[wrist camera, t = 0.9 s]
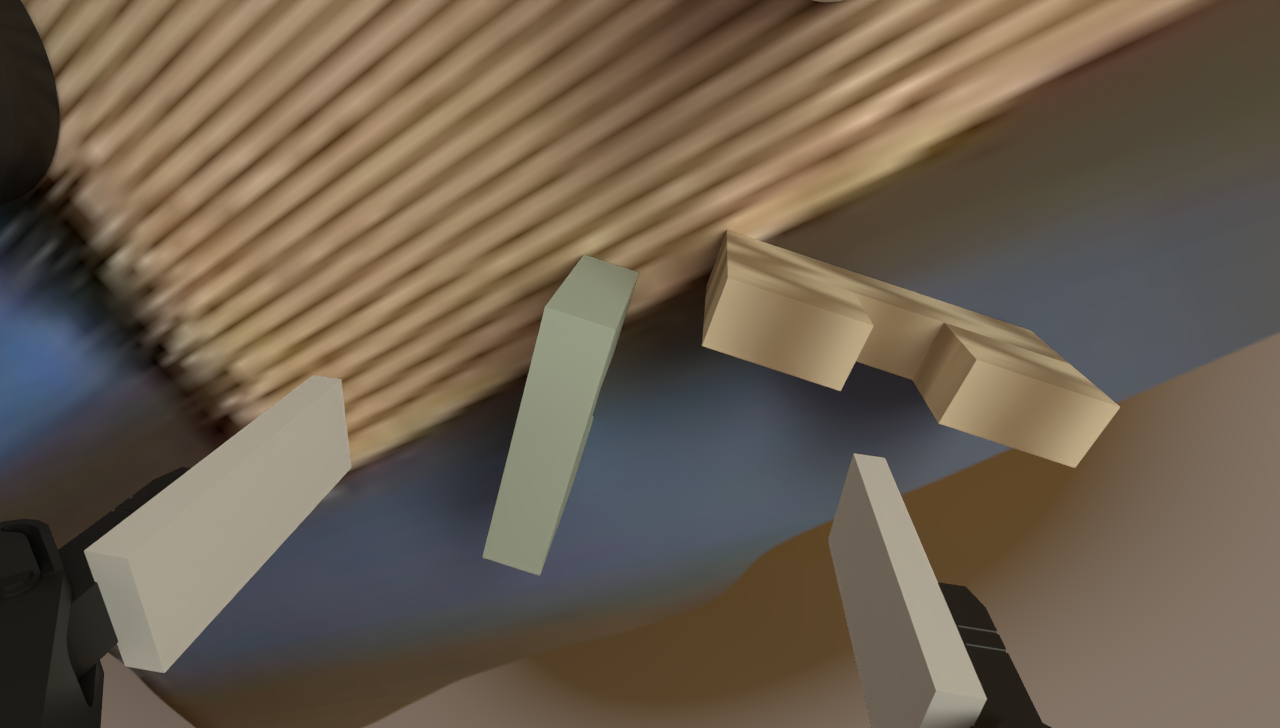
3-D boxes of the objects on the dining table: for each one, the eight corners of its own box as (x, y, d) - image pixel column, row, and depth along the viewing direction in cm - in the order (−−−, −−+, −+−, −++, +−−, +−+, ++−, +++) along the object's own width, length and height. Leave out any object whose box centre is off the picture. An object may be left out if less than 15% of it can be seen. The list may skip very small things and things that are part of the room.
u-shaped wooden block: (706, 284, 33) (701, 345, 26) (726, 229, 32) (728, 277, 24) (998, 381, 33) (1075, 467, 26) (1030, 330, 32) (1120, 407, 25)
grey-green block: (526, 467, 39) (482, 557, 32) (584, 254, 33) (545, 306, 26) (573, 482, 39) (539, 575, 32) (639, 272, 33) (616, 329, 26)
